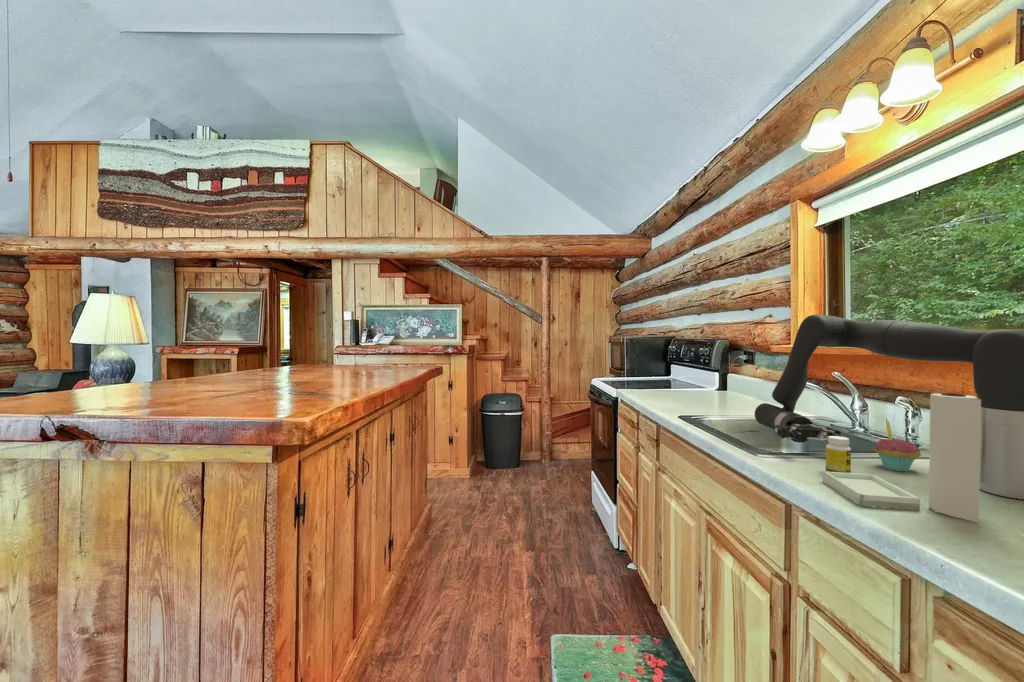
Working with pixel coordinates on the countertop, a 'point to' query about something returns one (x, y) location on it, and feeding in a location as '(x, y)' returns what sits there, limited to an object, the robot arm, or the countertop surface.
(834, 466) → the supplement bottle
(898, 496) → the tray
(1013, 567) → the countertop surface
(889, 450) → the cupcake
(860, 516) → the countertop surface
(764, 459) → the countertop surface
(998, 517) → the countertop surface
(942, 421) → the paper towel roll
